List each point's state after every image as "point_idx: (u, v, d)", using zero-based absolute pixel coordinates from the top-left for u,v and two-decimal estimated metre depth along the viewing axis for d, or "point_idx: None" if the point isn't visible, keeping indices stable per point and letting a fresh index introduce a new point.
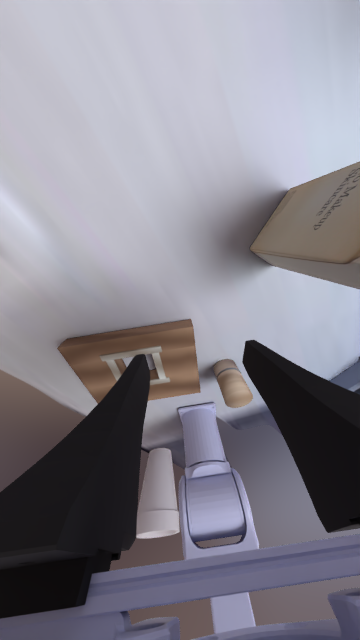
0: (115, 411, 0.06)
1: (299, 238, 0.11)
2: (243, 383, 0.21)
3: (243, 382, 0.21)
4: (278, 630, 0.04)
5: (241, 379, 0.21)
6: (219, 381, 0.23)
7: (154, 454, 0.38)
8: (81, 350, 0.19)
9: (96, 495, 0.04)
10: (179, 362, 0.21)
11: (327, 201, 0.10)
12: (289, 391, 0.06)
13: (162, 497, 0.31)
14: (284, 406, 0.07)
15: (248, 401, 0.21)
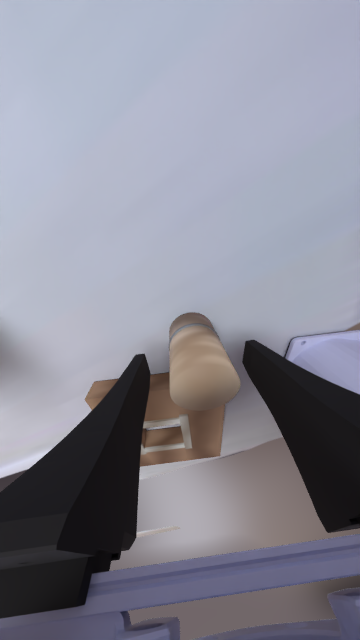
0: (115, 411, 0.06)
1: None
2: (173, 362, 0.09)
3: (174, 358, 0.09)
4: (278, 630, 0.04)
5: (173, 355, 0.09)
6: None
7: None
8: None
9: (96, 495, 0.04)
10: (151, 407, 0.15)
11: None
12: (289, 391, 0.06)
13: None
14: (284, 406, 0.07)
15: (220, 370, 0.07)
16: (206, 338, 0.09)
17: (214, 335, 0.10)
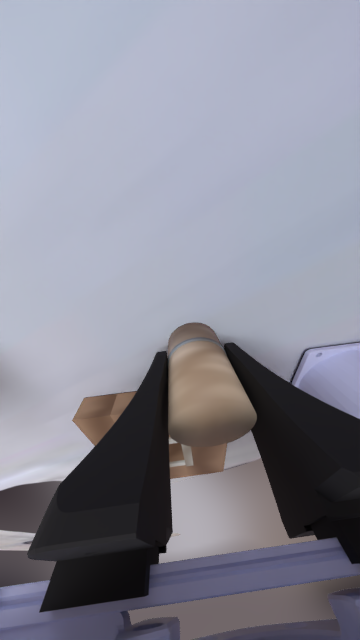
0: (152, 406, 0.06)
1: None
2: (172, 390, 0.07)
3: (174, 385, 0.07)
4: (278, 630, 0.04)
5: (172, 378, 0.08)
6: None
7: None
8: None
9: (151, 487, 0.04)
10: None
11: None
12: (257, 395, 0.06)
13: None
14: None
15: (233, 406, 0.06)
16: (213, 358, 0.07)
17: (221, 352, 0.08)
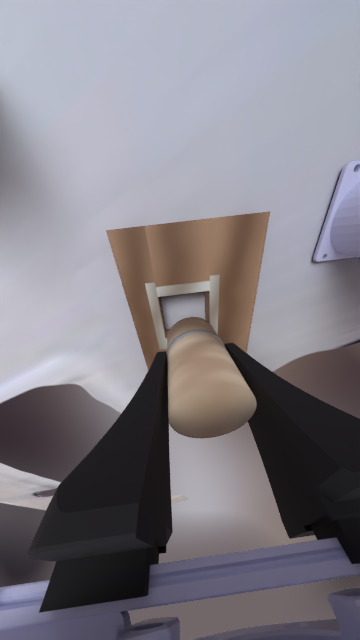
0: (152, 406, 0.06)
1: None
2: (174, 377, 0.07)
3: (175, 372, 0.07)
4: (278, 630, 0.04)
5: (173, 367, 0.07)
6: None
7: None
8: (152, 360, 0.19)
9: (151, 487, 0.04)
10: (180, 256, 0.13)
11: None
12: (257, 395, 0.06)
13: None
14: None
15: (235, 391, 0.06)
16: (214, 348, 0.08)
17: (222, 345, 0.09)
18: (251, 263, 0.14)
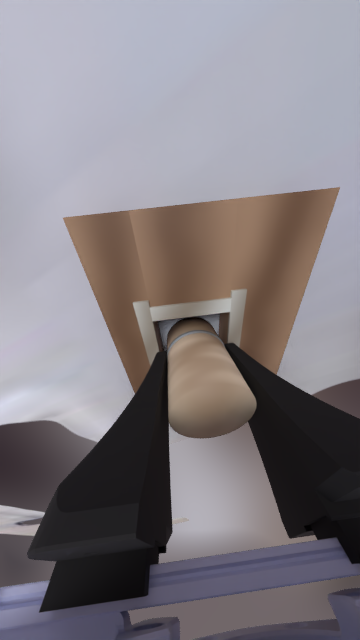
0: (152, 406, 0.06)
1: None
2: (174, 377, 0.07)
3: (175, 372, 0.07)
4: (278, 630, 0.04)
5: (173, 367, 0.07)
6: None
7: None
8: None
9: (151, 487, 0.04)
10: (187, 260, 0.08)
11: None
12: (257, 395, 0.06)
13: None
14: None
15: (235, 391, 0.06)
16: (214, 348, 0.08)
17: (222, 345, 0.09)
18: (296, 272, 0.09)
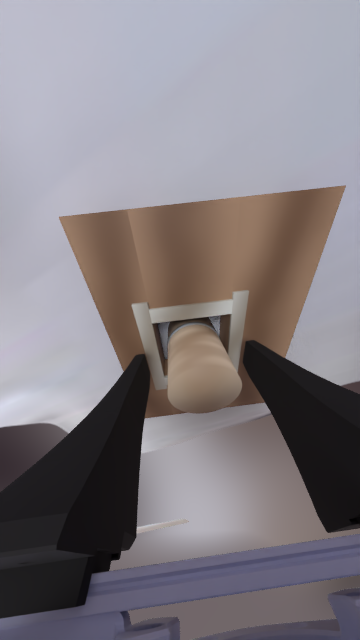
0: (115, 411, 0.06)
1: None
2: (172, 361, 0.08)
3: (174, 357, 0.08)
4: (278, 630, 0.04)
5: (172, 353, 0.09)
6: None
7: None
8: (147, 402, 0.14)
9: (96, 495, 0.04)
10: (188, 261, 0.08)
11: None
12: (289, 391, 0.06)
13: None
14: (284, 406, 0.07)
15: (223, 372, 0.07)
16: (208, 338, 0.09)
17: (216, 335, 0.10)
18: (299, 273, 0.09)
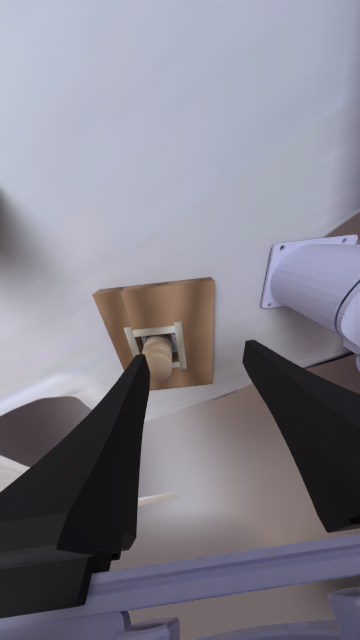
0: (115, 411, 0.06)
1: None
2: None
3: None
4: (278, 630, 0.04)
5: (142, 352, 0.18)
6: None
7: None
8: None
9: (96, 495, 0.04)
10: (149, 309, 0.17)
11: None
12: (289, 391, 0.06)
13: None
14: (284, 406, 0.07)
15: (161, 360, 0.16)
16: (160, 345, 0.18)
17: (166, 343, 0.19)
18: (206, 313, 0.18)
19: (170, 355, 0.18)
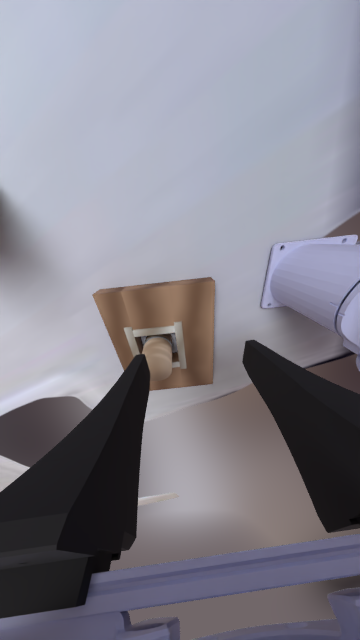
0: (115, 411, 0.06)
1: None
2: None
3: None
4: (278, 630, 0.04)
5: (142, 352, 0.18)
6: None
7: None
8: None
9: (96, 495, 0.04)
10: (149, 309, 0.17)
11: None
12: (289, 391, 0.06)
13: None
14: (284, 406, 0.07)
15: (161, 360, 0.16)
16: (160, 345, 0.18)
17: (166, 343, 0.19)
18: (206, 313, 0.18)
19: (170, 355, 0.18)
